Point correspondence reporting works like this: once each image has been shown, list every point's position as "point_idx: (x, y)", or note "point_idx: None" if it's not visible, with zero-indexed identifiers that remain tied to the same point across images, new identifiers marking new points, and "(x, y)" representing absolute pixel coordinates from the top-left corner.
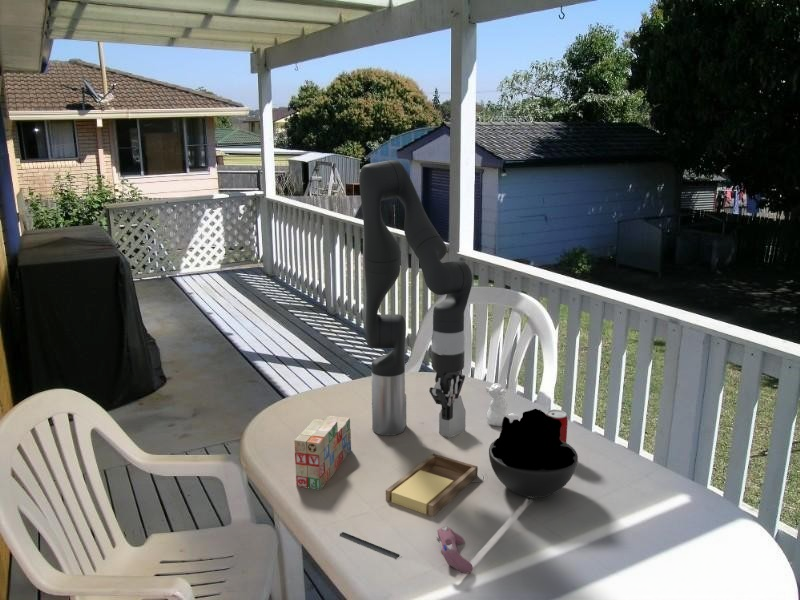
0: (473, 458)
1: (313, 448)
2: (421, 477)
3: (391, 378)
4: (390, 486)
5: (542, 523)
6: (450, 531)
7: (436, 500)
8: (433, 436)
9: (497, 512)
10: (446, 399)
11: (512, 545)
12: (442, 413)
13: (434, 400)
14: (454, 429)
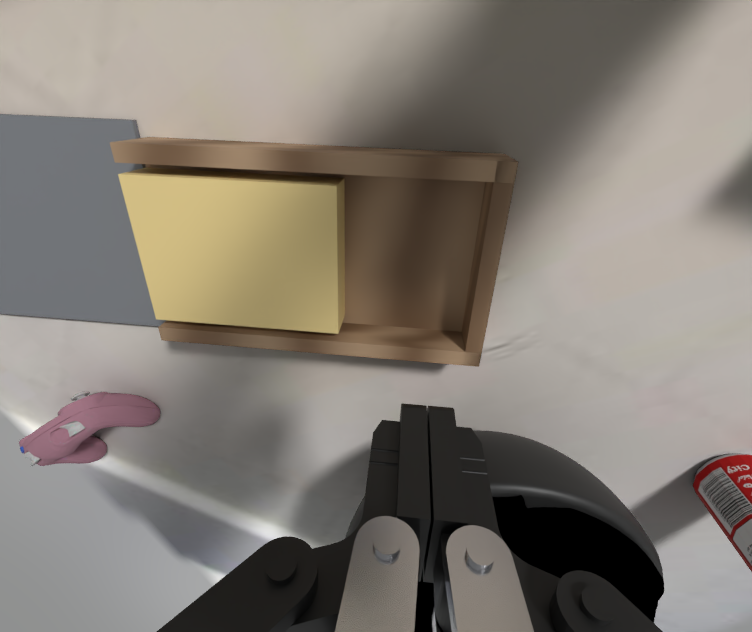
0: (635, 269)
1: None
2: (286, 223)
3: None
4: (144, 144)
5: (347, 507)
6: (71, 443)
7: (194, 337)
8: None
9: (331, 430)
10: (444, 593)
11: (236, 481)
12: (371, 457)
13: (196, 600)
14: None
